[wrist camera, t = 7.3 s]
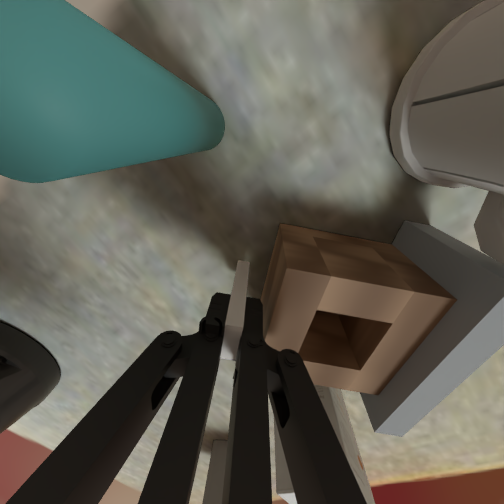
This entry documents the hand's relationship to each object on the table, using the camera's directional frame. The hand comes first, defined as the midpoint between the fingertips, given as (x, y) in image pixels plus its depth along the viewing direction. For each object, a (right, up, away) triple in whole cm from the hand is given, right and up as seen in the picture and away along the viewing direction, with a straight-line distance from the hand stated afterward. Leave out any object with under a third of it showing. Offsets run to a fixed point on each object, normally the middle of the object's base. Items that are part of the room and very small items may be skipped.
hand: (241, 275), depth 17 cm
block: (+7, -1, +2) cm, 7 cm away
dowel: (-2, +10, -3) cm, 11 cm away
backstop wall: (+12, -2, +2) cm, 12 cm away
